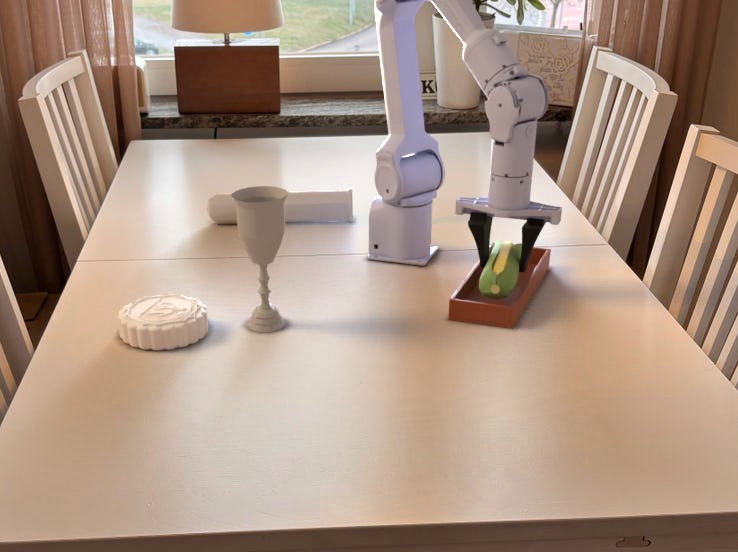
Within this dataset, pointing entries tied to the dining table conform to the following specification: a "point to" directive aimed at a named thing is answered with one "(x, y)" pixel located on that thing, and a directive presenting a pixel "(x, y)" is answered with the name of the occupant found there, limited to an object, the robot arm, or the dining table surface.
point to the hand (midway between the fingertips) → (503, 267)
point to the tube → (292, 206)
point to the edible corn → (501, 270)
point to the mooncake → (163, 322)
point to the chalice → (262, 243)
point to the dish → (503, 311)
